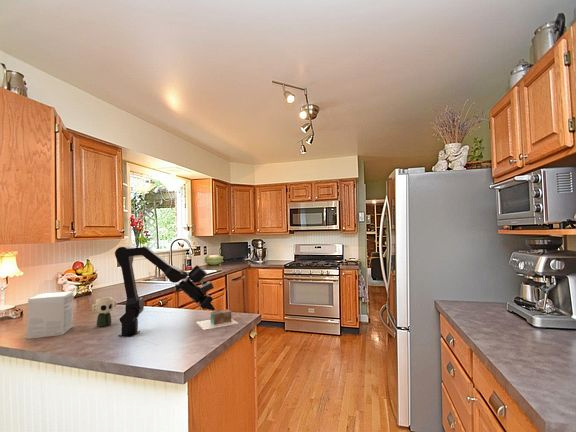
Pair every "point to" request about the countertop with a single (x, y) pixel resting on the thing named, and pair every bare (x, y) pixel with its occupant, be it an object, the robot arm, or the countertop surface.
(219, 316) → the walnut block
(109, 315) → the big eyed figurine
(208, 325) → the cream board
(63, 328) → the supplement box
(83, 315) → the countertop surface
